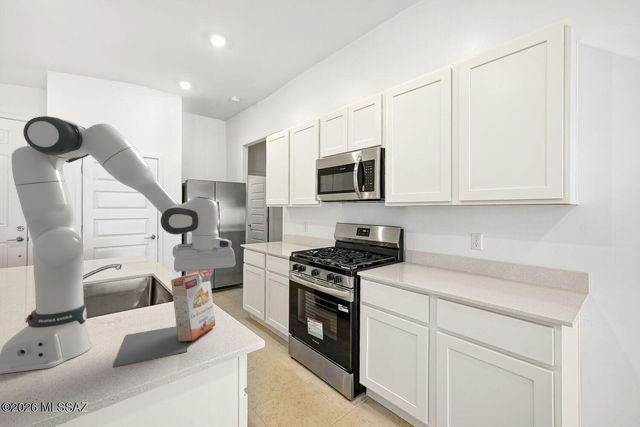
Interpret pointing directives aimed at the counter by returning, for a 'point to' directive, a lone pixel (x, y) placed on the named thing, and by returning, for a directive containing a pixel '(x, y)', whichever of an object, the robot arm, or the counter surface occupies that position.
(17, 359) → the robot arm
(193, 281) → the cracker box
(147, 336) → the mat
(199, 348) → the counter surface
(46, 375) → the counter surface
